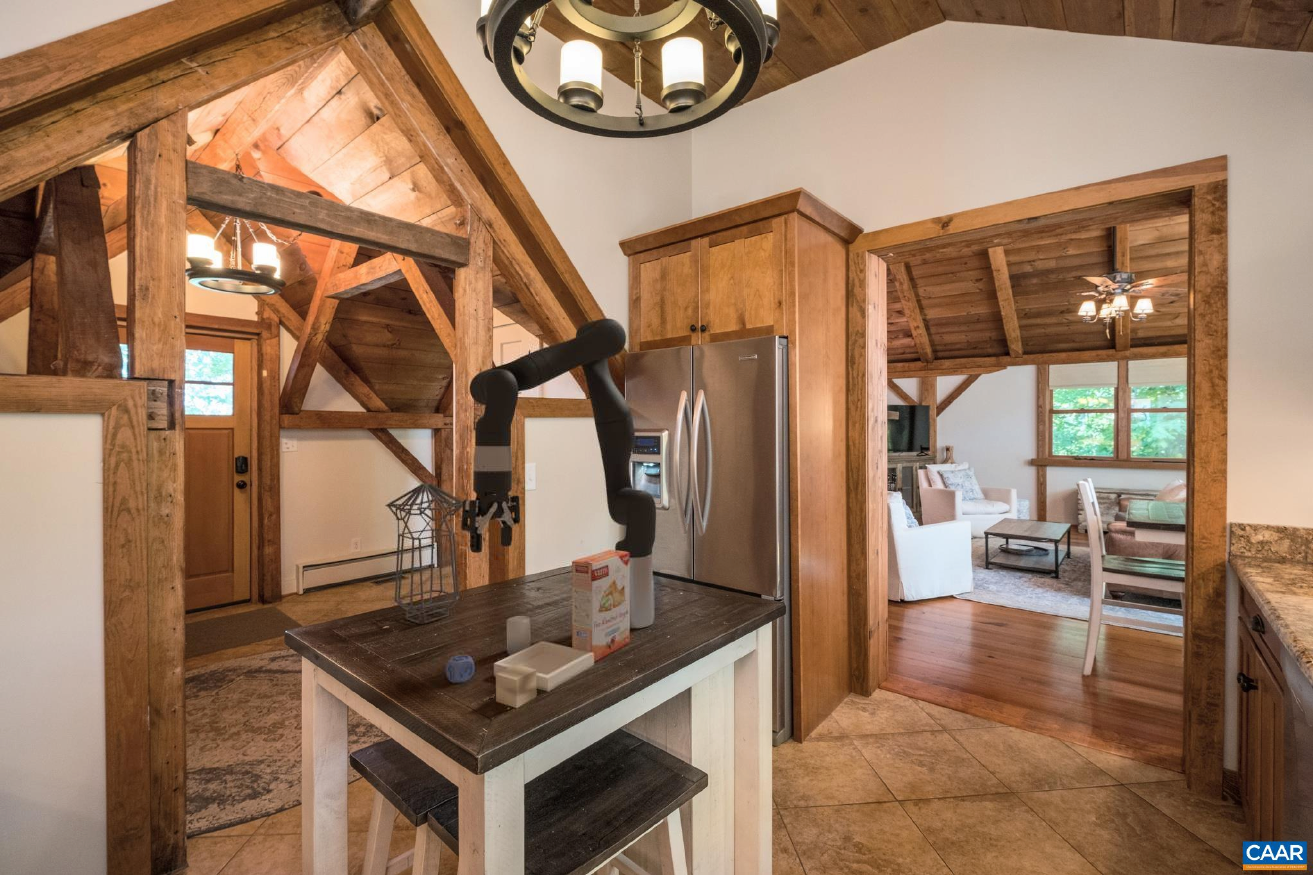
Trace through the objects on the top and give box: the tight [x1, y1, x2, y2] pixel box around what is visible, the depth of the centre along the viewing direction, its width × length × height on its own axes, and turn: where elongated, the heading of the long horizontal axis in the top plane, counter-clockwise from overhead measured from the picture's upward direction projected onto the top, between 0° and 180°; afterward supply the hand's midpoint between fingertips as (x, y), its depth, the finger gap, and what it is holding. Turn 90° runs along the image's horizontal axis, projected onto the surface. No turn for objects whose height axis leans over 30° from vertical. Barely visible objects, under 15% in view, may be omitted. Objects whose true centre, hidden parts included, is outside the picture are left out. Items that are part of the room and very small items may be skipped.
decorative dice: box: [445, 654, 475, 684], centre depth 114 cm, size 4×4×4 cm
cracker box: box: [571, 549, 631, 663], centre depth 127 cm, size 14×6×21 cm, turn 148°
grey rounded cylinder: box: [506, 615, 532, 656], centre depth 128 cm, size 5×5×7 cm
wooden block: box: [495, 664, 537, 709], centre depth 105 cm, size 5×5×5 cm
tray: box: [493, 640, 595, 692], centre depth 118 cm, size 14×14×2 cm
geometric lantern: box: [385, 482, 464, 625], centre depth 153 cm, size 16×16×35 cm
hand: (491, 549), depth 118 cm, fingers open, 8 cm apart
